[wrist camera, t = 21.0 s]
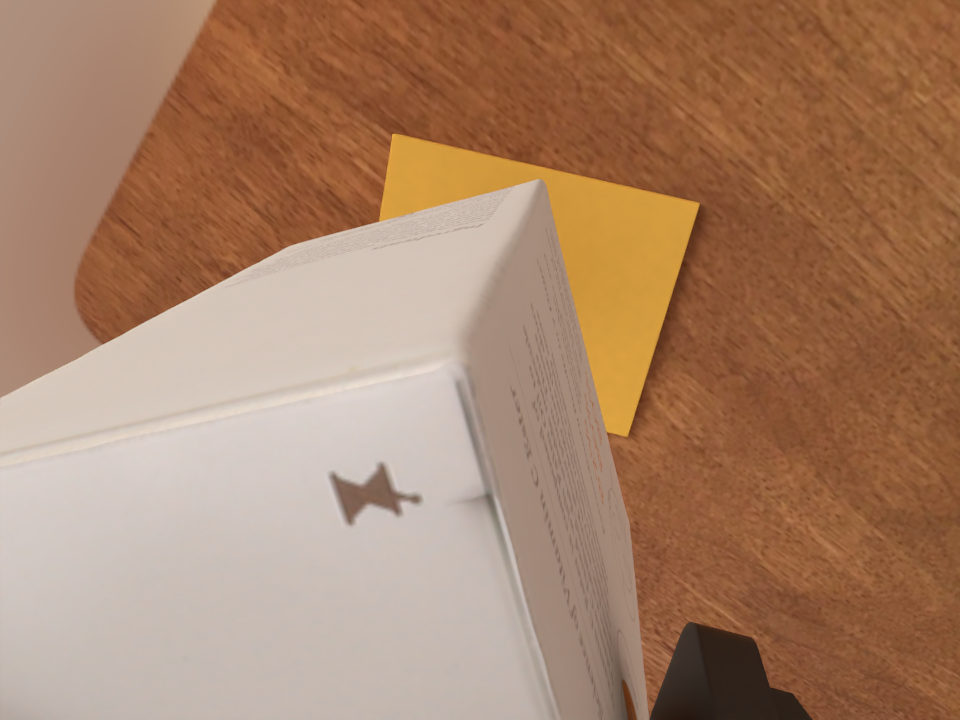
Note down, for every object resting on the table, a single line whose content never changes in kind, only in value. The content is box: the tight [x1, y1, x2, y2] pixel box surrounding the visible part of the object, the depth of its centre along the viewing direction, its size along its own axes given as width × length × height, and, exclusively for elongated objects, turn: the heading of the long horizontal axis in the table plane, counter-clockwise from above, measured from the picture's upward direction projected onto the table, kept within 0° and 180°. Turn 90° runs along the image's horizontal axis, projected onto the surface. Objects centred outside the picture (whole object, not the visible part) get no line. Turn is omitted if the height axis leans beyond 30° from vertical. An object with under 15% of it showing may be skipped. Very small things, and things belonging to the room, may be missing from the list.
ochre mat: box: [379, 134, 700, 437], centre depth 30 cm, size 12×10×1 cm
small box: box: [0, 179, 649, 720], centre depth 11 cm, size 8×6×10 cm
